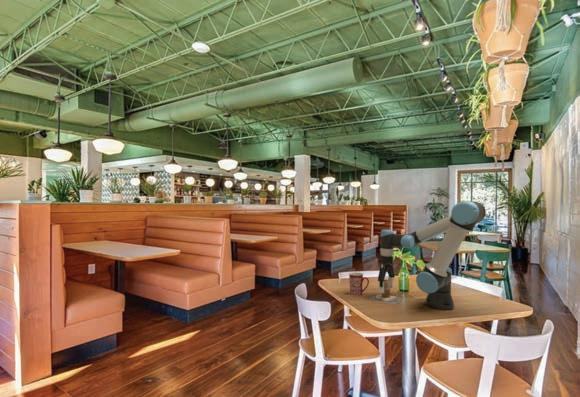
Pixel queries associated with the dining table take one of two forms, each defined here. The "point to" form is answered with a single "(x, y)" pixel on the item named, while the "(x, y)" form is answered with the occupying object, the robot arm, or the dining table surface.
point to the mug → (356, 283)
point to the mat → (385, 301)
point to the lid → (386, 293)
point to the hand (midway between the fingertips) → (386, 290)
